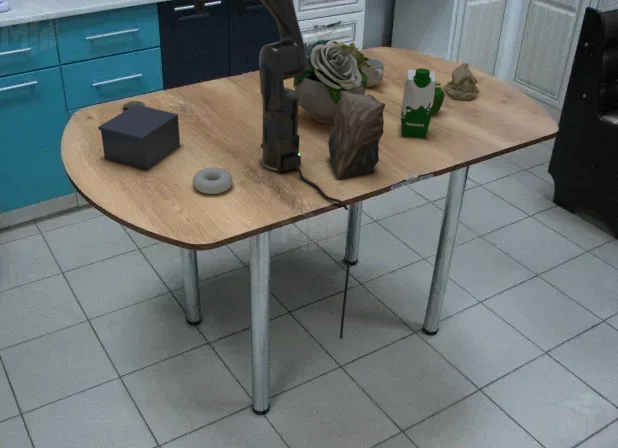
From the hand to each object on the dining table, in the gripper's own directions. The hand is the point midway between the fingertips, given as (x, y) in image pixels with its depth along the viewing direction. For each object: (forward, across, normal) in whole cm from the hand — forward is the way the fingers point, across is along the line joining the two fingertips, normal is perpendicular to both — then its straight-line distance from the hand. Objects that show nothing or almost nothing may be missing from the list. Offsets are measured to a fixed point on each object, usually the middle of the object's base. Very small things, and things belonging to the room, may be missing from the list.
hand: (199, 13), depth 193 cm
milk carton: (+30, +62, +19) cm, 72 cm away
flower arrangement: (+29, +36, +15) cm, 49 cm away
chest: (+33, 0, -30) cm, 45 cm away
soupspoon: (+31, -13, -14) cm, 36 cm away
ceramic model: (+26, +67, +57) cm, 92 cm away
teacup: (+26, +37, +46) cm, 65 cm away
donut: (+35, +27, -36) cm, 57 cm away
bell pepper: (+28, +62, +35) cm, 77 cm away
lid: (+24, +1, -31) cm, 40 cm away
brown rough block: (+33, +53, -11) cm, 64 cm away
